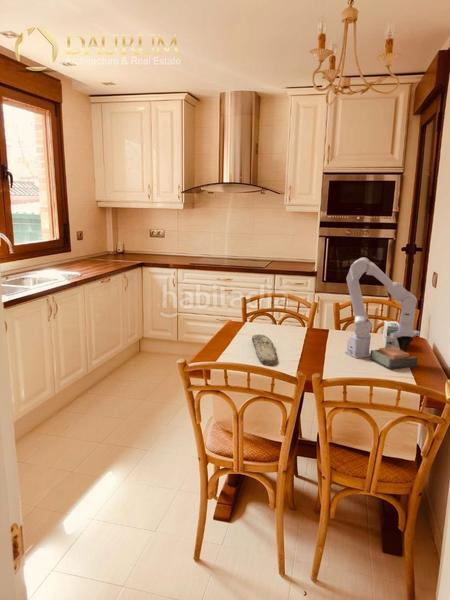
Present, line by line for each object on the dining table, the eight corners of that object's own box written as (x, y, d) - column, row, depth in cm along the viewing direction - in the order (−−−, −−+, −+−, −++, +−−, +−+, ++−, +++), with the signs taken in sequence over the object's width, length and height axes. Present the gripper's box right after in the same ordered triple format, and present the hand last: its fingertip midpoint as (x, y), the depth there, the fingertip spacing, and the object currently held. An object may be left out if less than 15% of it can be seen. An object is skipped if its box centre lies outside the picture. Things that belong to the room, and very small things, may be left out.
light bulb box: (399, 348, 206) (402, 327, 204) (384, 347, 207) (387, 325, 205) (395, 341, 216) (398, 321, 214) (381, 340, 218) (384, 320, 215)
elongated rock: (256, 368, 180) (280, 370, 181) (257, 357, 178) (281, 358, 179) (248, 338, 214) (268, 339, 214) (250, 328, 212) (269, 329, 213)
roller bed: (390, 370, 179) (391, 359, 177) (369, 359, 190) (370, 349, 189) (416, 366, 183) (417, 356, 182) (394, 356, 195) (396, 346, 194)
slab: (393, 360, 180) (394, 355, 180) (378, 353, 189) (379, 348, 188) (408, 358, 183) (409, 353, 183) (393, 351, 192) (393, 346, 191)
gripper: (399, 326, 178) (395, 357, 181) (426, 323, 183) (422, 353, 186) (388, 321, 185) (384, 351, 188) (414, 319, 190) (410, 348, 193)
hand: (402, 352), depth 188 cm, fingers closed
